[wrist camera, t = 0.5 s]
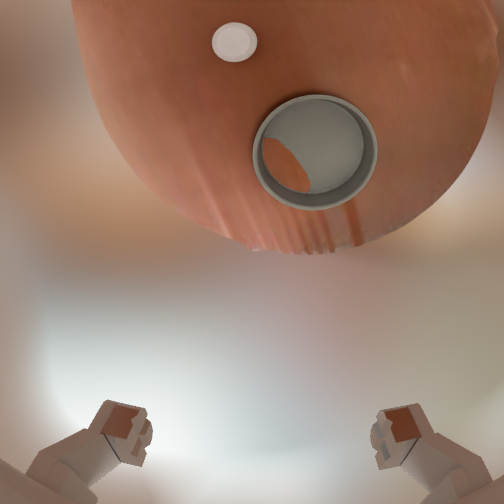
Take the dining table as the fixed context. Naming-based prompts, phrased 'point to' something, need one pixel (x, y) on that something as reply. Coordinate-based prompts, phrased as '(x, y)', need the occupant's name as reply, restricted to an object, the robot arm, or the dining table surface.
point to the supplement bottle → (234, 42)
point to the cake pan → (319, 150)
